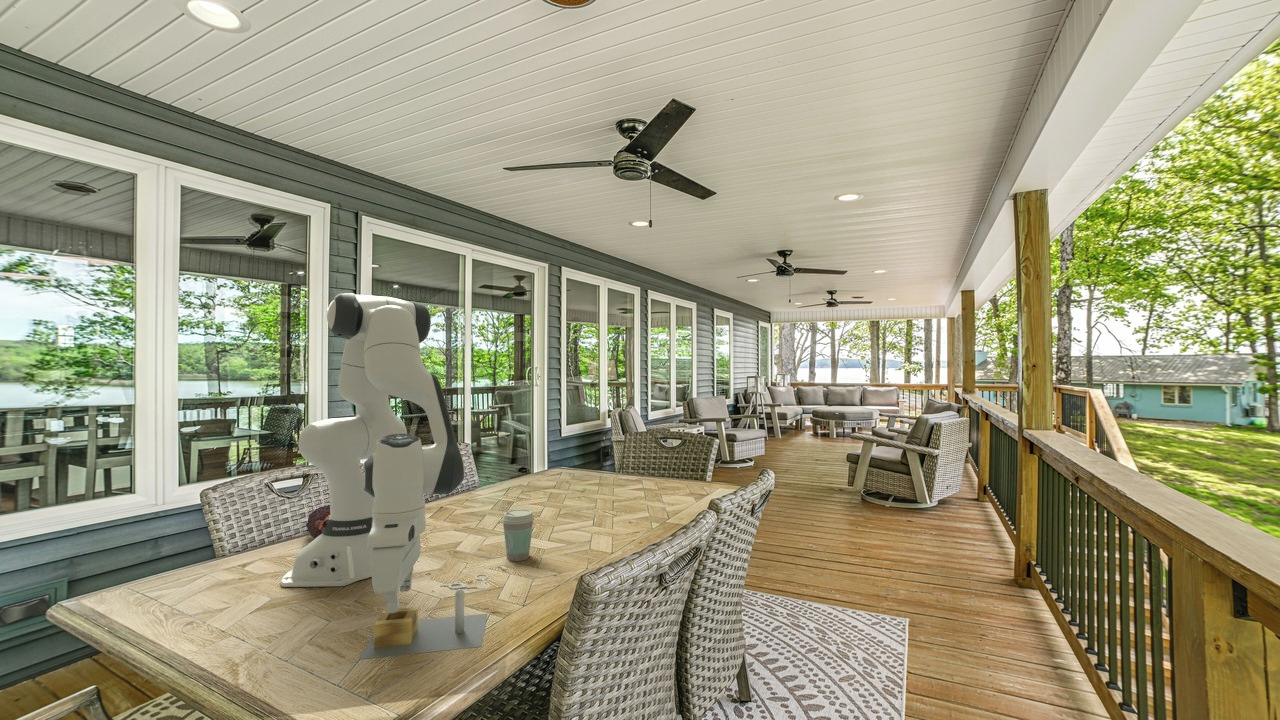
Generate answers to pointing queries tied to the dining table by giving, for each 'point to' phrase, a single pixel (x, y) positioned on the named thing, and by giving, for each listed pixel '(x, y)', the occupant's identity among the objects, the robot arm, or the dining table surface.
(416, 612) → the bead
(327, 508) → the pine cone
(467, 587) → the scissors
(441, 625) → the grey peg stand
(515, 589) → the dining table surface
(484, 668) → the dining table surface
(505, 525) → the coffee cup
